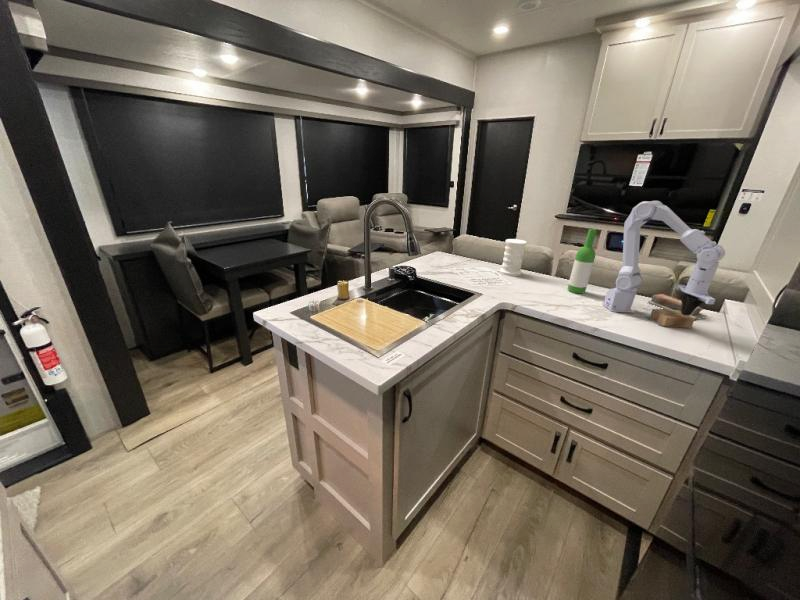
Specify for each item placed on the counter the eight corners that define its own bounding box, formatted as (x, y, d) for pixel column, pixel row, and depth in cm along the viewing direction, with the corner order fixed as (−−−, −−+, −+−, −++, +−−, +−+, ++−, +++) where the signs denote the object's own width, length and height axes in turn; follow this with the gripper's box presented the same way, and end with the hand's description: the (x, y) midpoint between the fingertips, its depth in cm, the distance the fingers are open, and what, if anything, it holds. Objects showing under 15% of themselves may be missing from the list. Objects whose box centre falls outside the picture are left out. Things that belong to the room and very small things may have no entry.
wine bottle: (588, 293, 149) (606, 230, 138) (577, 295, 147) (594, 231, 135) (574, 287, 156) (591, 227, 144) (563, 289, 153) (579, 227, 141)
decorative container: (519, 270, 180) (525, 239, 173) (522, 276, 169) (529, 244, 162) (498, 268, 182) (503, 238, 175) (500, 275, 171) (506, 242, 164)
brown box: (667, 317, 117) (652, 308, 125) (663, 326, 119) (649, 316, 126) (694, 319, 117) (678, 310, 124) (691, 327, 118) (675, 318, 126)
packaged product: (649, 294, 139) (664, 292, 142) (645, 304, 141) (660, 301, 144) (696, 310, 123) (711, 307, 126) (691, 321, 125) (706, 318, 128)
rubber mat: (659, 325, 119) (659, 325, 119) (645, 316, 127) (646, 316, 127) (692, 327, 119) (692, 327, 119) (676, 318, 126) (676, 317, 126)
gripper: (730, 287, 103) (713, 324, 108) (695, 273, 117) (681, 307, 122) (708, 286, 103) (692, 322, 109) (675, 273, 117) (662, 306, 122)
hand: (685, 314), depth 115 cm, fingers closed
